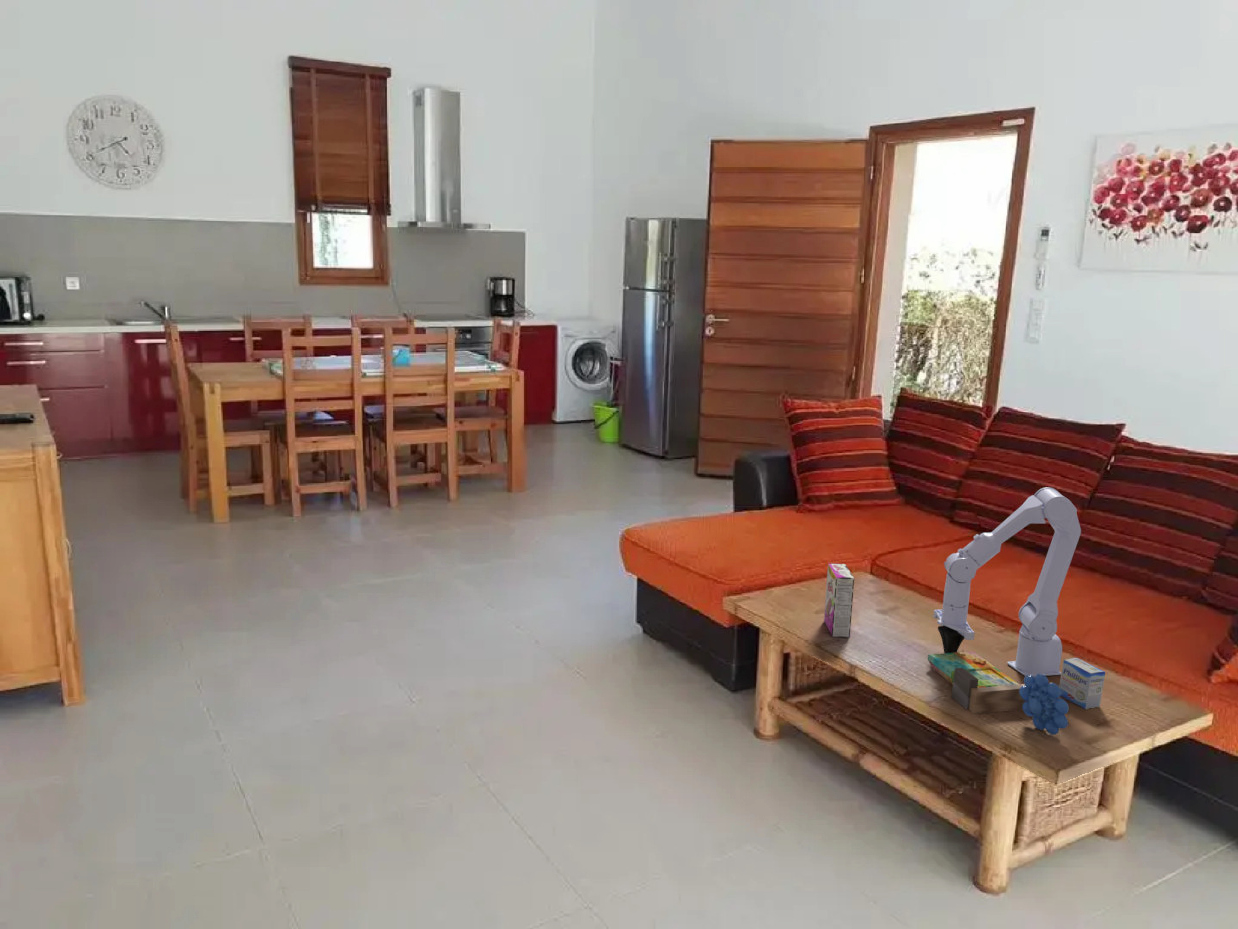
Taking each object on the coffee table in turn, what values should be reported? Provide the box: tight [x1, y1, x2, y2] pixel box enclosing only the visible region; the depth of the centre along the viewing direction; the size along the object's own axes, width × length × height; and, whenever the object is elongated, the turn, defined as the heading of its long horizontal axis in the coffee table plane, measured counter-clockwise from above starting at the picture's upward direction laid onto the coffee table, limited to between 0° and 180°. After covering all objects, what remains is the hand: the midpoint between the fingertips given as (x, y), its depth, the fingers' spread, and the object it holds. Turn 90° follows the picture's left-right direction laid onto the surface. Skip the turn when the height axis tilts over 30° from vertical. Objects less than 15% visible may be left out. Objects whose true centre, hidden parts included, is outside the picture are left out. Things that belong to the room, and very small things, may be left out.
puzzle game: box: [927, 650, 1019, 688], centre depth 222 cm, size 12×5×20 cm
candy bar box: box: [823, 563, 855, 638], centre depth 251 cm, size 11×5×16 cm, turn 179°
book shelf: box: [951, 668, 1054, 715], centre depth 213 cm, size 20×8×7 cm, turn 103°
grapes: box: [1019, 674, 1070, 736], centre depth 200 cm, size 12×7×12 cm, turn 30°
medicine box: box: [1058, 657, 1106, 710], centre depth 215 cm, size 8×4×9 cm, turn 22°
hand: (949, 656), depth 233 cm, fingers closed
